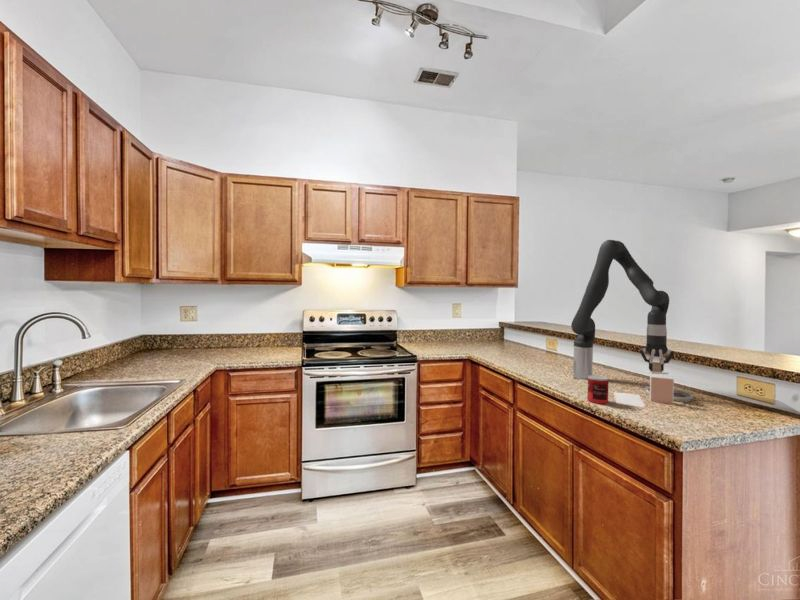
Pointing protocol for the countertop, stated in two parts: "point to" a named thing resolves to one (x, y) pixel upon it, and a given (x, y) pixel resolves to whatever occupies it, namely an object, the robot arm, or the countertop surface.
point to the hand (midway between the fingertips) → (656, 371)
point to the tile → (661, 389)
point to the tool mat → (628, 399)
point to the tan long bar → (657, 368)
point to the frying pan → (675, 394)
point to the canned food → (598, 389)
